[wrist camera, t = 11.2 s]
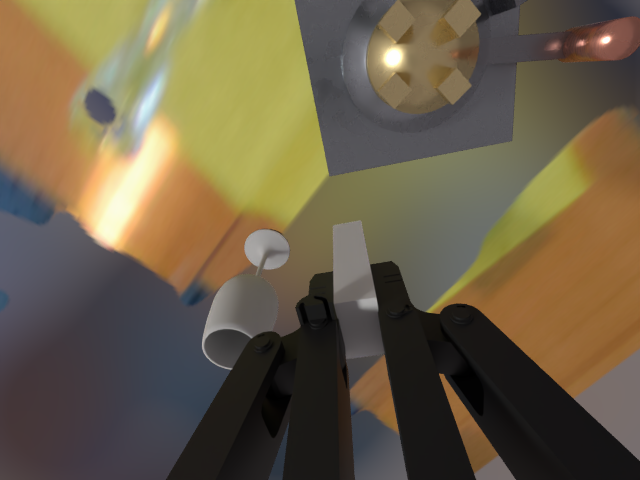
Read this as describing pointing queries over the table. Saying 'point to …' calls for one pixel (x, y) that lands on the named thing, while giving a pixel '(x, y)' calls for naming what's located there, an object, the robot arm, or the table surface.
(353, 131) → the housing
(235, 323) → the wineglass
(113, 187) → the table surface
